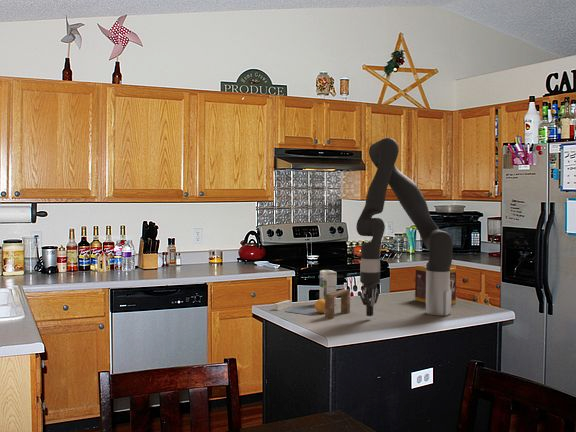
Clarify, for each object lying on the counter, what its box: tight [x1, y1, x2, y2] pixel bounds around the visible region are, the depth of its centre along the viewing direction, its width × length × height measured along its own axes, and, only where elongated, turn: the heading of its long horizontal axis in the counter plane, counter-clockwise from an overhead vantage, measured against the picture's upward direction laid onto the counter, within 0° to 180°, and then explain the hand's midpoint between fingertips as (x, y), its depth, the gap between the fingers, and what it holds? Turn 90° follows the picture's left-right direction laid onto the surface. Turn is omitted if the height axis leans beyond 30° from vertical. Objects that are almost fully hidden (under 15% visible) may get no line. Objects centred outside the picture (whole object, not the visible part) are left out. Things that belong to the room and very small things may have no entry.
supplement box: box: [414, 264, 457, 305], centre depth 271 cm, size 10×15×16 cm
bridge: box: [324, 288, 351, 320], centre depth 241 cm, size 3×14×9 cm, turn 146°
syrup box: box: [319, 269, 338, 306], centre depth 264 cm, size 6×6×14 cm
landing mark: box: [284, 306, 319, 316], centre depth 250 cm, size 12×12×1 cm
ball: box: [314, 298, 325, 314], centre depth 246 cm, size 6×6×6 cm
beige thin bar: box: [273, 299, 293, 311], centre depth 256 cm, size 2×10×2 cm, turn 146°
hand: (369, 315), depth 233 cm, fingers closed
